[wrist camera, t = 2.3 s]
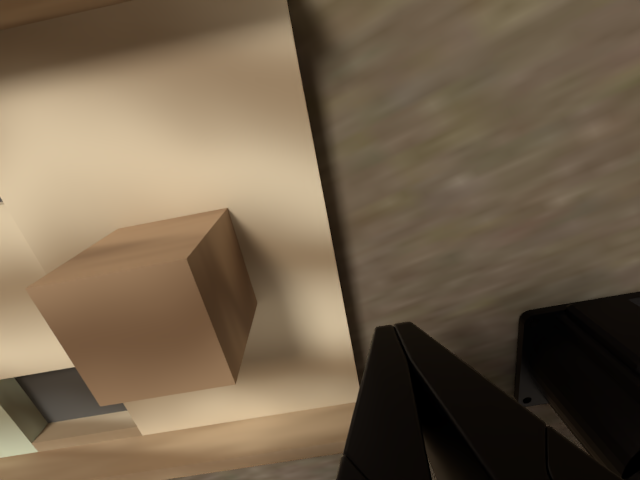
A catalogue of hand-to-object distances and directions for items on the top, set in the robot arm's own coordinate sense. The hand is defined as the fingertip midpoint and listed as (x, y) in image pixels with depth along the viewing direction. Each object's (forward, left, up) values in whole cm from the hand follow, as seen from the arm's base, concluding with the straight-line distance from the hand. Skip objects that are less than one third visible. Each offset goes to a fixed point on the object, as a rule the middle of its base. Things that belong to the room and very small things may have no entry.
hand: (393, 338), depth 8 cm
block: (0, +7, -6) cm, 9 cm away
